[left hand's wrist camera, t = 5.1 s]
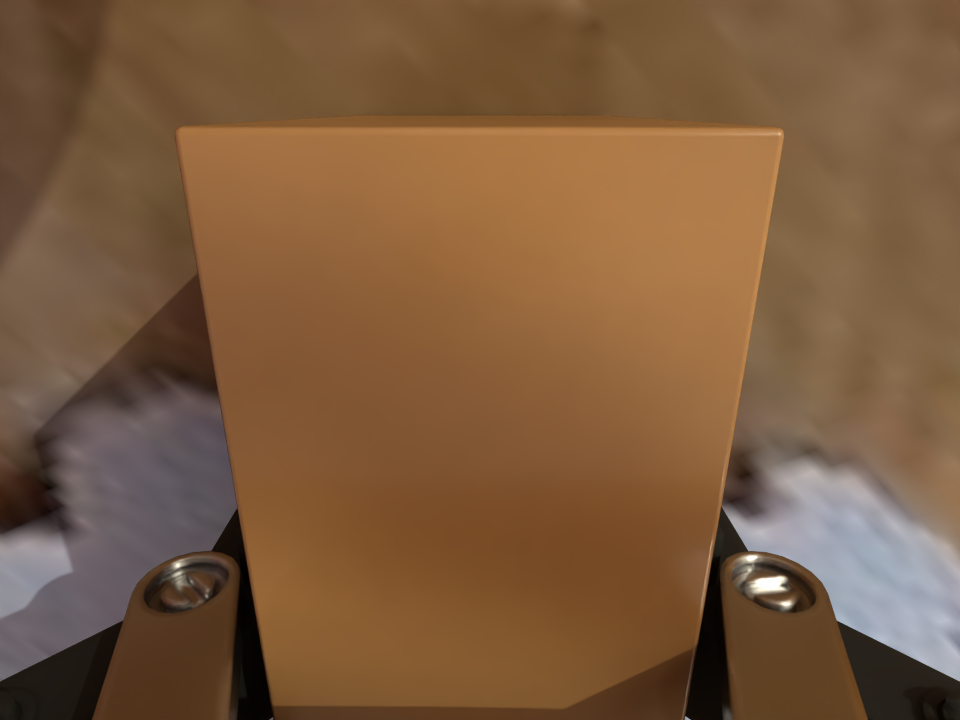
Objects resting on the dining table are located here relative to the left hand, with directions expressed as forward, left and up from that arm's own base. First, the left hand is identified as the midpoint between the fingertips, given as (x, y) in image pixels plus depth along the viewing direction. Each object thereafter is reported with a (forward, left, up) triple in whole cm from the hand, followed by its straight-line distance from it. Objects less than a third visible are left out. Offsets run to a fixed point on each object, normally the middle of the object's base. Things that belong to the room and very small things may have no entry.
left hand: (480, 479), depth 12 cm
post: (+20, -15, -3) cm, 25 cm away
